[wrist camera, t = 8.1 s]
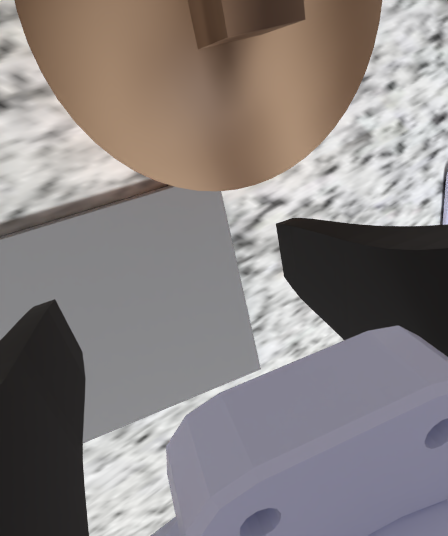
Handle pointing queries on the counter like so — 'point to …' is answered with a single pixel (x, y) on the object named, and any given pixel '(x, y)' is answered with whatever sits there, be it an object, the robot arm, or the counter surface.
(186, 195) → the mat
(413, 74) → the counter surface
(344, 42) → the lid
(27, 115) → the counter surface
